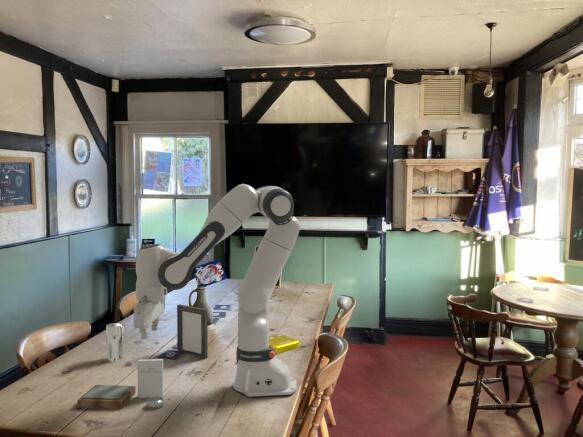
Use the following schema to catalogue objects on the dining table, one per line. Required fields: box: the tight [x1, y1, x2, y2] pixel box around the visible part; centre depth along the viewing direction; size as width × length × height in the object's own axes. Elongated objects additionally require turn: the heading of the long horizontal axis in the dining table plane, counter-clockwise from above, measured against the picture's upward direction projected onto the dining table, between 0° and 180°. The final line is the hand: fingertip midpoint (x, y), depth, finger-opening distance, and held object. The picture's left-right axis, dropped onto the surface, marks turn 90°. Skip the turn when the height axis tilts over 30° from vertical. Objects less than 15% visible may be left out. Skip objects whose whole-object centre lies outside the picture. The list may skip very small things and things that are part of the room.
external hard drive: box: [137, 358, 164, 399], centre depth 161 cm, size 2×8×12 cm, turn 96°
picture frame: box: [176, 303, 209, 360], centre depth 200 cm, size 16×2×21 cm, turn 56°
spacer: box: [146, 397, 164, 410], centre depth 154 cm, size 5×5×2 cm
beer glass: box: [105, 322, 125, 363], centre depth 194 cm, size 7×7×15 cm
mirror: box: [77, 384, 136, 410], centre depth 158 cm, size 14×12×3 cm
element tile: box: [269, 333, 300, 355], centre depth 212 cm, size 15×15×5 cm
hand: (149, 334), depth 160 cm, fingers open, 8 cm apart
